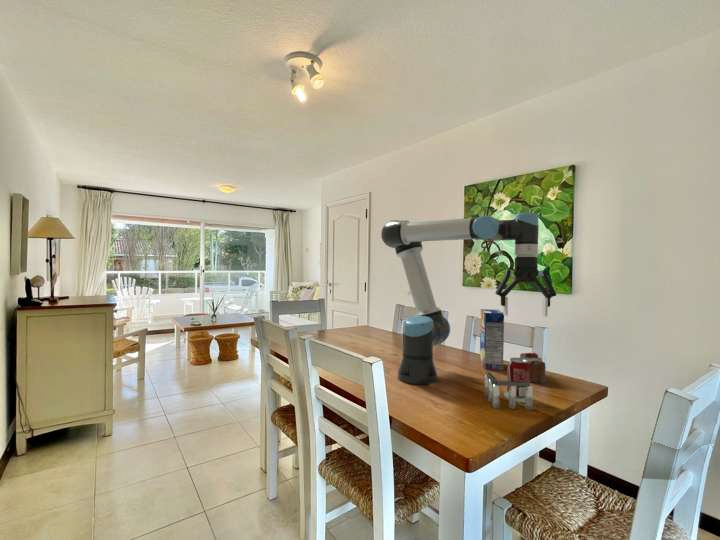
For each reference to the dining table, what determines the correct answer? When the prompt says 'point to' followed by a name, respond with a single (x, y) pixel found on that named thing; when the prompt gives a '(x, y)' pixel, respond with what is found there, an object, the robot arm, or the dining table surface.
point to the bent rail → (494, 391)
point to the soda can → (518, 374)
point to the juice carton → (491, 339)
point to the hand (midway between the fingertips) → (524, 315)
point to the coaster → (520, 400)
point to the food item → (535, 367)
